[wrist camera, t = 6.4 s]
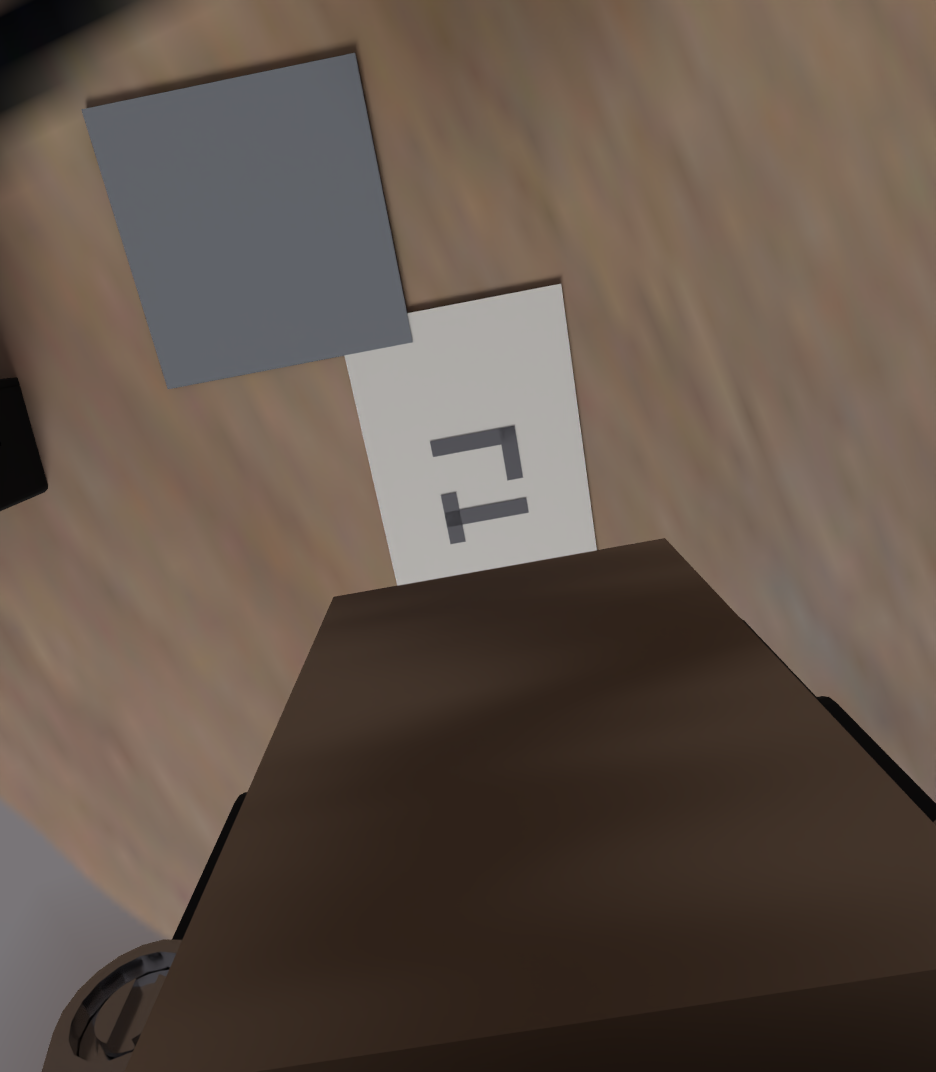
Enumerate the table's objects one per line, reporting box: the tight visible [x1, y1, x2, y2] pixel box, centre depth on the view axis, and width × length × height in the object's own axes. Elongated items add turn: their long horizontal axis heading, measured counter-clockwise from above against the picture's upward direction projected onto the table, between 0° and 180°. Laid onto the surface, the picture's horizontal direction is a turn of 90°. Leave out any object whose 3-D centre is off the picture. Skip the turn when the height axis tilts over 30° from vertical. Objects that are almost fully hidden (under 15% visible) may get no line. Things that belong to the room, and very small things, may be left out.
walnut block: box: [124, 538, 936, 1072], centre depth 8 cm, size 5×5×7 cm
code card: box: [345, 284, 597, 586], centre depth 26 cm, size 8×13×1 cm, turn 10°
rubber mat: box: [82, 53, 413, 389], centre depth 24 cm, size 9×9×1 cm
